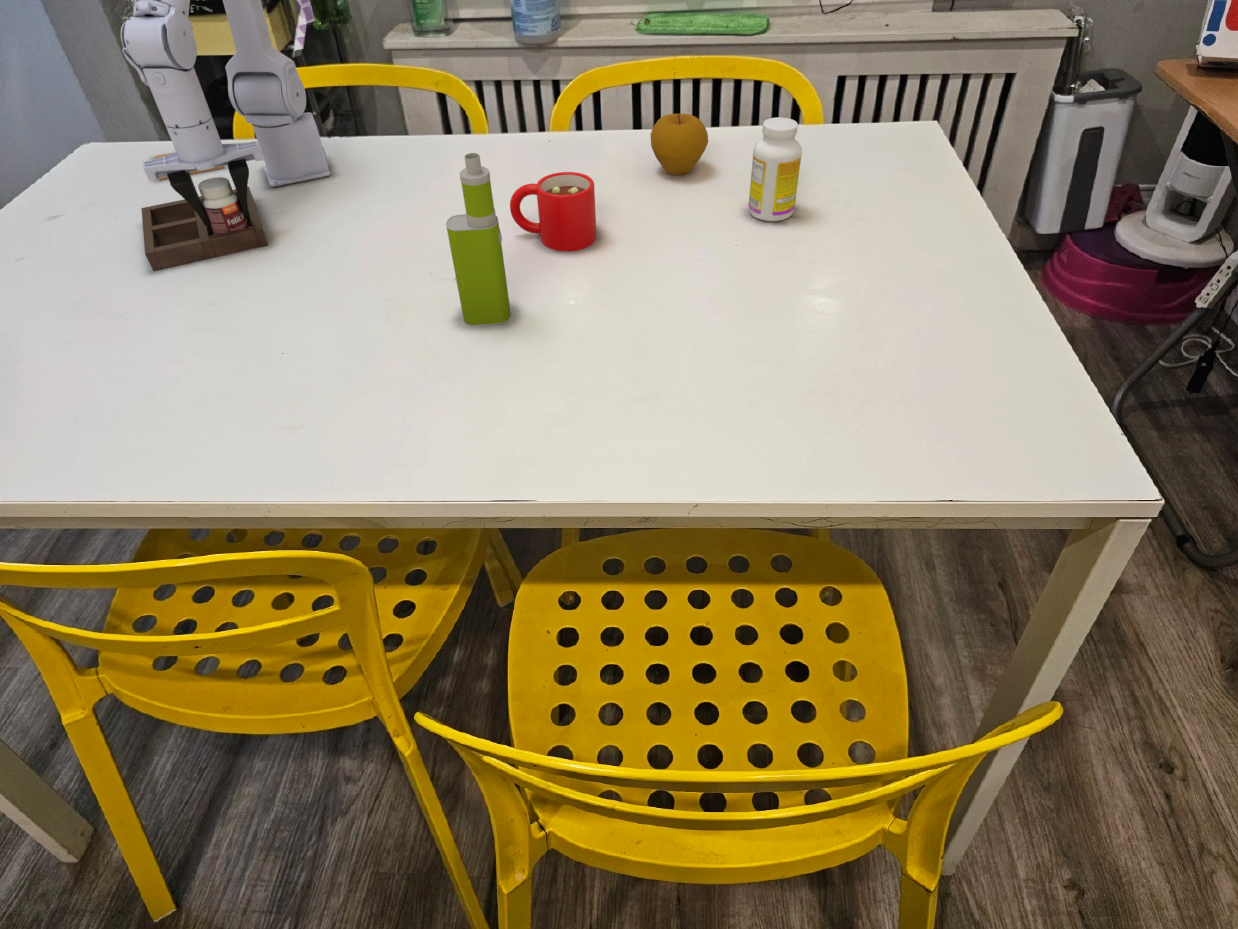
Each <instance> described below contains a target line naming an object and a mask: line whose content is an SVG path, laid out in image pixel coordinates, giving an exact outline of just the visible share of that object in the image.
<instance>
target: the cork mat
mask: <svg viewBox="0 0 1238 929" xmlns="http://www.w3.org/2000/svg"><path fill="white" fill-rule="evenodd" d="M174 153H175V152H170V153H166V154H161V155H156V156H155V159H158V158H161V157H164V156H167V155H171V154H174ZM224 168H225V167H224V166H219V167H214V168H212V169H207V170H202V171H192V172H189V173H190V176H192V175H195V174H200V173H207V172H210V171H216V170H222V169H224ZM165 180H169V178H168V176H166V177H161V178H158V181H165Z"/></svg>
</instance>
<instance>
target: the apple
mask: <svg viewBox="0 0 1238 929" xmlns="http://www.w3.org/2000/svg"><path fill="white" fill-rule="evenodd" d="M649 136H650V146H651V149H652V151H653V154H654V156H655V158H656V160H657V161H658V163H659V164H660V166H661V167H662V168H663V170H664V171H665V172H666V173H667V174H670V175H673V176H684V175H686V174H688V173H690V172H691V171H692V170H693V168H694V167H695V166H696V165H697V163H698V162H699V161H700V159H701V158H702V156H703V155H704V152H706V149H707V147H708V143H709V134H708V131H707V128H706V126H705V124H704V123H703V122H702V121H701V119H699V118H698V117H697V116H695V115H692V114H689V113H669V114H665V115H663V116H661V117H660V118H659V119H658V120H657V121H656V123H655V124H654V125H653V127H652V129H651V132H650V135H649Z"/></svg>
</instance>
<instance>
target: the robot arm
mask: <svg viewBox="0 0 1238 929" xmlns="http://www.w3.org/2000/svg"><path fill="white" fill-rule="evenodd" d="M222 4H223V6H224V11H225V14H226V17H227V22H228V25H229V28H230V29H229V30H230V33H231V36H232V40H233V44H234V48H235V53H234V54H233V56H232V57H231V58H230V59H229V60H228V62H227V63H226V65H225V67H224V68H225V72H226V77H227V78H226V79H227V92H228V98H229V101H230V104H231V106H232V107H233V109H234V110H235V111H236V113H237V114H238V115H240V116H241V117H244V118H245V121H246V123H247V124H251V126H252V129H253V131H254V134H255V138H256V140H255V141H249V142H235V143H222V140H221V138H220V135H219V132H218V129H217V126H216V123H215V122H214V118H213V116H212V113H211V110H210V108H209V105H208V102H207V100H206V97H205V94H204V91H203V89H202V86H201V82H200V80H199V77H198V75H197V73H196V69H195V67H194V66H195V64H196V60H197V56H198V49H197V48H198V47H197V42H196V39H195V35H194V32H193V31H194V26H193V23H192V21H191V20H190V19H189V16H190V15H189V14H190V5H191V0H134V1H133V10H132V16H130V17H129V18H128V19H126V20H125V22H123V23H122V25H121V27H120V41H121V45H122V54H123V55H124V57H125V59H126V60H127V62H128V63H129V64H130V65H131V66H132V67H133V68H134V69H135V70H136V72H137V73H138V75H139V77H140V81H141V82H142V83H143V84H144V85H145V86H147V87H148V88H149V89H150V92H151V94H152V96H153V99H154V101H155V105H156V106H157V109H158V112H159V114H160V116H161V119H162V121H163V123H164V125H165V128H166V131H167V133H168V135H169V138H170V141H171V142H172V145H173V147H174V150H175V152H173V153H174V154H171V155H167V156H164V157H161V158H158V159H156V158H154V159H150V160H146V161H143V162H142V168H143V171H144V173H145V175H146V177H147V179H148V180H147V181H148V182H155V181H159V178H161V177H166V176H168V178H169V179H168V181H169V185H170V187H171V188H172V189H173V190H174V191H175V192H176V193H177V194H179V195H180V197H182V198H183V200H184V199H185V200H186V201H187V202H188V203H189V204H190V205H191V206H192V208H193V209H194V210H195V211H196V213H197V214H198V215H199V217H200V218H201V220H202V221H203V223H204V225H205V226H208V225H210V222H209V220H208V217H207V215H206V213H205V210H204V207H203V205H202V202H201V200H200V198H199V197H200V196H199V193H198V192H197V189H196V186H195V183H194V181H193V179H192V175H190V173H189V172H192V171H202V170H207V169H212V168H214V167H219V166H223V167H224V166H227V169H228V172H229V175H230V178H231V181H232V183H233V186H234V188H235V189H236V191H237V193H238V196H239V200H240V204H241V207H242V211H243V214H244V216H245V218H246V217H250V214H249V210H248V203H247V187H248V184H249V178H250V168H249V165H248V163H247V162H250V161H255V162H260V161H264V164H265V166H264V167H263V170H264V173H265V176H266V179H267V181H268V183H269V186H270V187H271V188H275V187H279V186H285V185H290V184H293V183H299V182H304V181H310V180H315V179H319V178H320V179H321V178H324V177H329V176H331V171H330V168H329V164H328V161H327V160H328V157H327V152H326V149H325V148H324V147H323V143H322V140H321V136H320V133H319V130H318V126H317V124H316V121H315V118H314V116H313V113H312V112H305V110H306V107H307V94H306V89H305V85H304V83H303V81H302V79H301V78H300V76H299V73H298V69H297V66H296V63H295V61H294V60H293V59H291V58H290V57H288V56H287V55H285V54H283V53H282V52H281V51H279V50H277V49H276V48H275V47H274V46H273V44H272V40H271V36H270V32H269V28H268V24H267V20H266V15H265V10H264V7H263V4H262V0H222Z"/></svg>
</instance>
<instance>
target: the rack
mask: <svg viewBox="0 0 1238 929" xmlns="http://www.w3.org/2000/svg"><path fill="white" fill-rule="evenodd" d="M232 192H234V193H236V194H237V196H238V193H237V191H236V188H235V189H234V188H233V189H232ZM199 198H200V200H201V202H202V198H203V197H202V195H200V196H199ZM238 198H239V196H238ZM239 201H240V200H239ZM247 203H248V210H249V214H250V217H246V220H247V223H248V226H249V228H245V229H240V230H236V231H231V232H226V233H222V234H217V235H214V232H213V230H212V227H211V225H208V226H205V225H204V223H203V221H202V220H201V218H200V217H199V215H198V214H197V213H196V211H195V210H194V209H193V208H192V206H191V205H190V204H189V203H188V202H187V201H186V200H185V199H184V198H183V199H181V200H175V201H169V202H164V203H160V204H154V205H150V206H146V207H141V209H140V210H141V220H142V221H141V222H142V232H143V244H144V245H143V246H144V255H145V257H146V259H147V262H148V263H149V265H150V267H151V269H152V271H159V270H162V269H167V268H172V267H176V266H181V265H185V264H190V263H195V262H198V261H203V260H208V259H212V258H216V257H221V256H225V255H231V254H234V253H240V252H243V251H248V250H252V249H258V248H262V247H267V246H269V242H268V239H267V237H266V234H265V230H264V226H263V223H262V221H261V218H260V215H259V211H258V208H257V205H256V201H255V198H254V196H253V194H252V191H251V188H250V186H247Z"/></svg>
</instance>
